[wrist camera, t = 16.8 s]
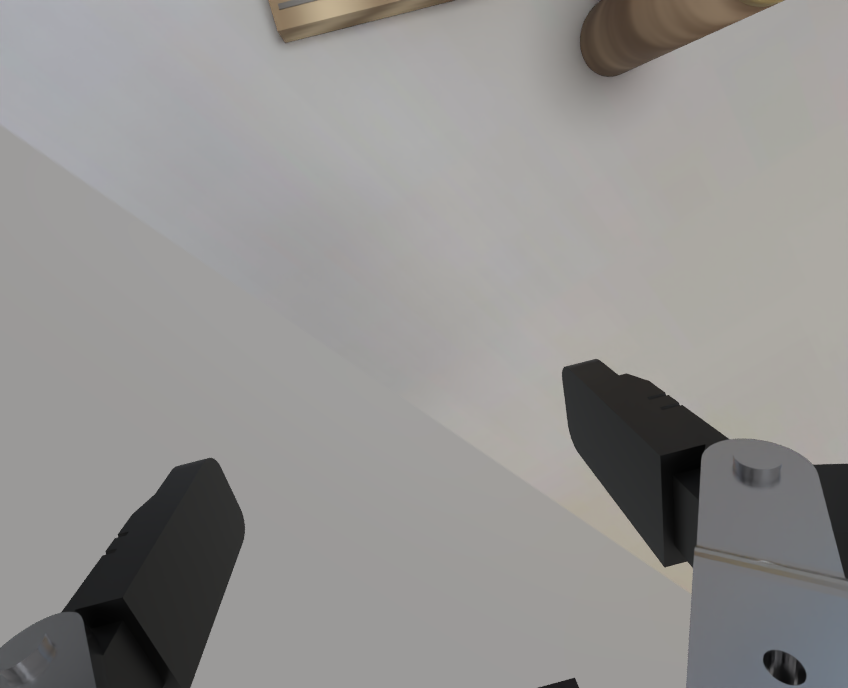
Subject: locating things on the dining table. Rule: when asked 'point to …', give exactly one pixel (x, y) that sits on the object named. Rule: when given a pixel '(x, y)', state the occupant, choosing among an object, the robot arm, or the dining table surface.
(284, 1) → the board
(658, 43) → the wooden cylinder yellow top
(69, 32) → the dining table surface
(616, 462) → the robot arm
